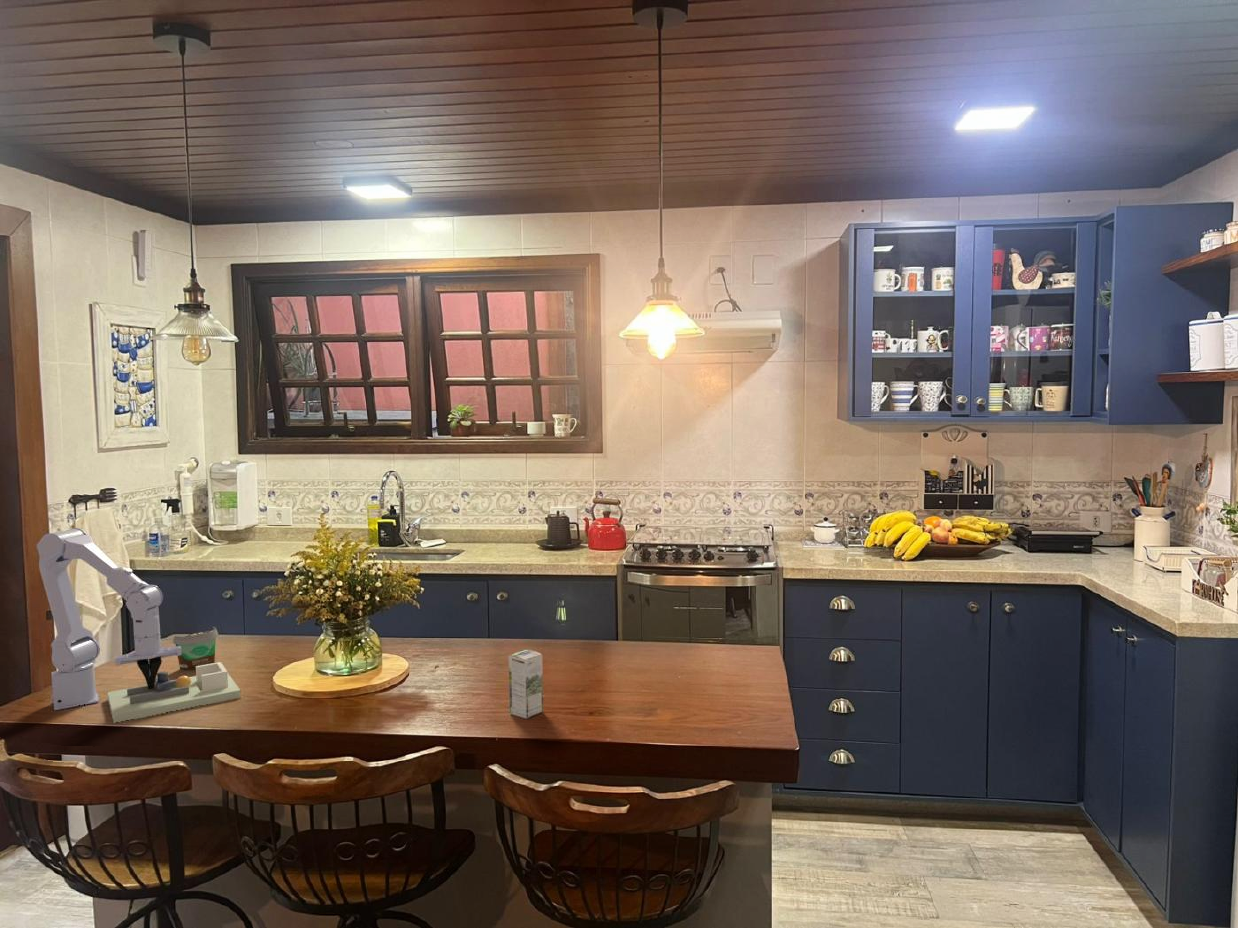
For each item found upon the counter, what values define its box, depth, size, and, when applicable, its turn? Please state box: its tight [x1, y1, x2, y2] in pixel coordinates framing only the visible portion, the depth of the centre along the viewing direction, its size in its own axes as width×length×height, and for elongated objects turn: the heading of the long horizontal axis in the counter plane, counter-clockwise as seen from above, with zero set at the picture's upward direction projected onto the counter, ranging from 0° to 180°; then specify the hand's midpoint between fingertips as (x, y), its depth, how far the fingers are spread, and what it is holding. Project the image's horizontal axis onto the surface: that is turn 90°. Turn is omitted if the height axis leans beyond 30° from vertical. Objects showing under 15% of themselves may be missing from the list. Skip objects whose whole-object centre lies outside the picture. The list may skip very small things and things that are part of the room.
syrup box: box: [508, 649, 544, 720], centre depth 201 cm, size 6×6×14 cm
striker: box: [155, 671, 172, 692], centre depth 215 cm, size 3×6×5 cm, turn 34°
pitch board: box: [107, 671, 242, 724], centre depth 217 cm, size 28×20×4 cm
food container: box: [172, 626, 219, 671], centre depth 243 cm, size 12×6×10 cm, turn 143°
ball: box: [175, 675, 191, 688], centre depth 218 cm, size 4×4×4 cm
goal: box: [195, 661, 229, 691], centre depth 222 cm, size 6×10×4 cm, turn 34°
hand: (151, 687), depth 214 cm, fingers closed
